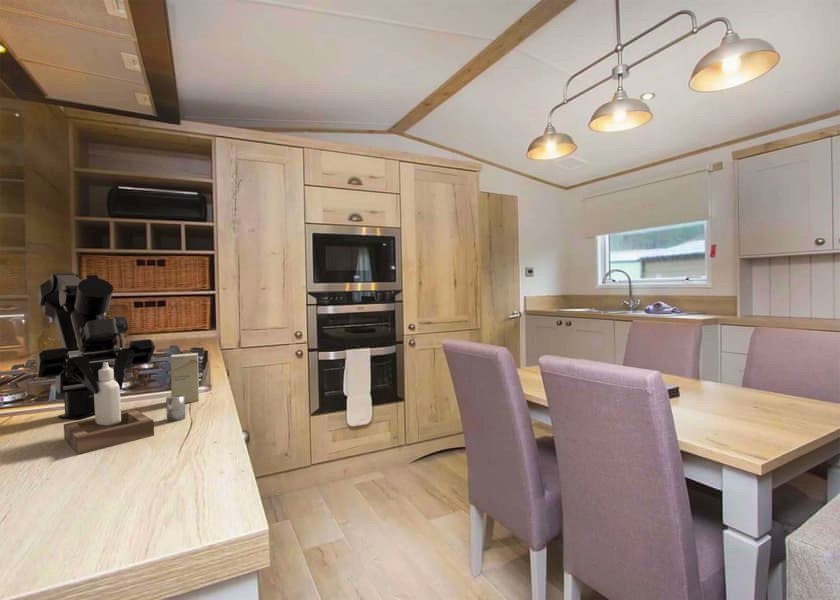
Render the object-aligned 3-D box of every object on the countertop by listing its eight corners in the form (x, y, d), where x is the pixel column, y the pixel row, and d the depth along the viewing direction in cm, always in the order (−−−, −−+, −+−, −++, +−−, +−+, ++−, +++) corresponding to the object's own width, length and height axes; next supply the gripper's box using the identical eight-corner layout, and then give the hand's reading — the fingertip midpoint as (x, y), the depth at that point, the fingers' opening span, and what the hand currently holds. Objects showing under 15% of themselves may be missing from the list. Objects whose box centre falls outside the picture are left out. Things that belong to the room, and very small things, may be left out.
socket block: (64, 439, 82) (63, 424, 82) (135, 422, 92) (134, 409, 91) (78, 454, 75) (77, 438, 75) (154, 435, 84) (153, 420, 84)
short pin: (162, 421, 92) (161, 399, 92) (175, 416, 96) (174, 394, 96) (176, 422, 91) (175, 399, 91) (189, 417, 95) (188, 395, 95)
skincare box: (171, 405, 105) (169, 357, 104) (172, 400, 109) (170, 354, 108) (199, 401, 108) (197, 354, 107) (199, 397, 112) (198, 352, 111)
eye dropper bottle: (122, 416, 87) (120, 359, 86) (120, 424, 82) (118, 363, 81) (96, 420, 84) (93, 361, 84) (92, 428, 80) (89, 366, 79)
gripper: (35, 307, 77) (49, 374, 71) (150, 302, 92) (170, 358, 85) (31, 345, 83) (44, 411, 76) (140, 334, 97) (158, 389, 91)
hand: (108, 390), depth 82 cm, fingers closed on eye dropper bottle, 3 cm apart
